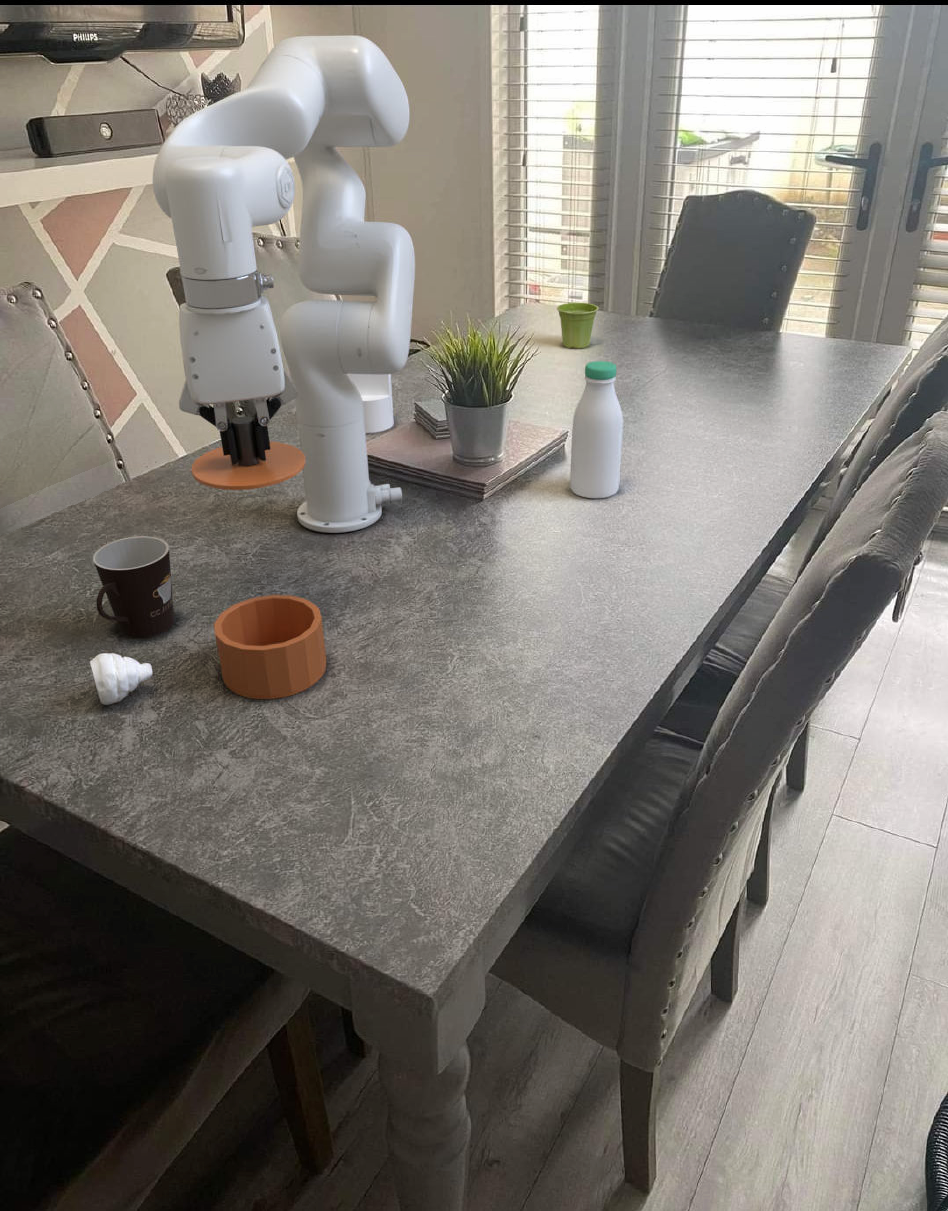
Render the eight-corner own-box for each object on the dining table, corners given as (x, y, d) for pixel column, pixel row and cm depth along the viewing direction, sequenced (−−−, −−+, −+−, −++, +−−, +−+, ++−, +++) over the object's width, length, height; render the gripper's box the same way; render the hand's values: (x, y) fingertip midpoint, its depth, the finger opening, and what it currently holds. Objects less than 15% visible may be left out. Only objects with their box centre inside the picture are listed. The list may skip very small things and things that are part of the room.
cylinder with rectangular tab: (395, 416, 183) (392, 353, 177) (391, 432, 175) (387, 367, 169) (348, 416, 183) (343, 353, 177) (342, 433, 175) (336, 368, 169)
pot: (318, 635, 116) (312, 588, 112) (333, 688, 106) (328, 639, 103) (219, 651, 113) (211, 603, 110) (226, 707, 103) (217, 657, 100)
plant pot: (604, 346, 222) (606, 308, 217) (571, 353, 218) (572, 314, 213) (581, 337, 229) (582, 300, 224) (548, 343, 225) (548, 305, 220)
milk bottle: (622, 499, 148) (631, 371, 138) (572, 500, 148) (577, 372, 138) (615, 479, 155) (623, 356, 145) (567, 480, 155) (572, 357, 145)
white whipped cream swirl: (161, 699, 105) (152, 658, 102) (104, 715, 103) (93, 673, 100) (151, 674, 109) (142, 634, 106) (96, 689, 107) (85, 647, 104)
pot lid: (297, 443, 115) (291, 394, 112) (314, 485, 105) (308, 433, 102) (189, 457, 112) (180, 407, 109) (196, 502, 102) (186, 448, 99)
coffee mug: (156, 599, 124) (141, 529, 119) (197, 621, 119) (183, 549, 114) (74, 638, 116) (54, 565, 111) (114, 662, 111) (96, 587, 106)
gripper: (295, 275, 103) (314, 437, 113) (140, 289, 99) (172, 455, 109) (306, 291, 97) (324, 461, 107) (140, 307, 93) (175, 481, 103)
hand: (247, 456), depth 108 cm, fingers closed on pot lid, 2 cm apart
